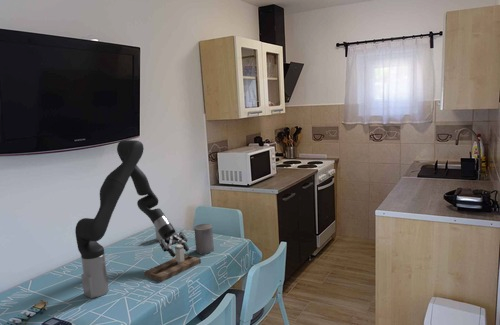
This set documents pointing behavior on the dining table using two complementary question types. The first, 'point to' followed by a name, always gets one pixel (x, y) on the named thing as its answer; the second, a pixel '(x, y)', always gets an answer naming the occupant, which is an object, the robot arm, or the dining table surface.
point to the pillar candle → (204, 238)
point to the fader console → (171, 268)
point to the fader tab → (179, 253)
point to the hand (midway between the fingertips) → (181, 253)
